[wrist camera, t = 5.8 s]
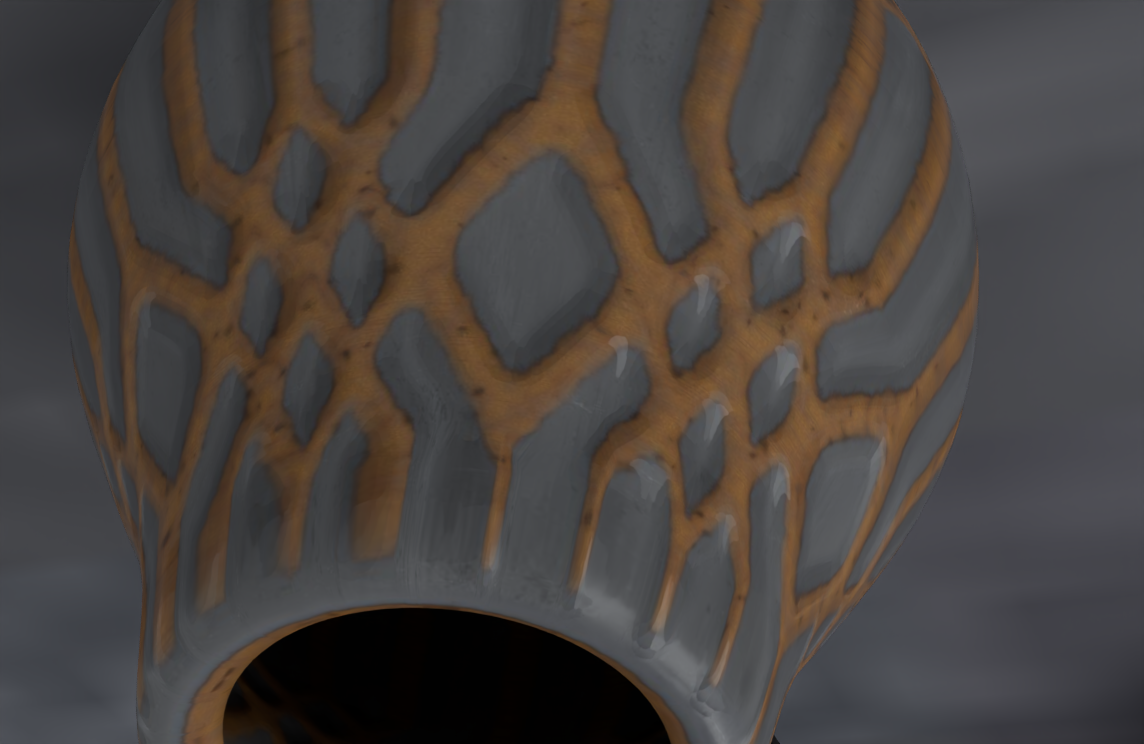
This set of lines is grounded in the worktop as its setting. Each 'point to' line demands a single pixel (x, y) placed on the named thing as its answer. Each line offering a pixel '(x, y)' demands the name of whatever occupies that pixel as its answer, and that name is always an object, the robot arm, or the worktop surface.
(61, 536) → the worktop surface
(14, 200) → the worktop surface
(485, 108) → the vase
